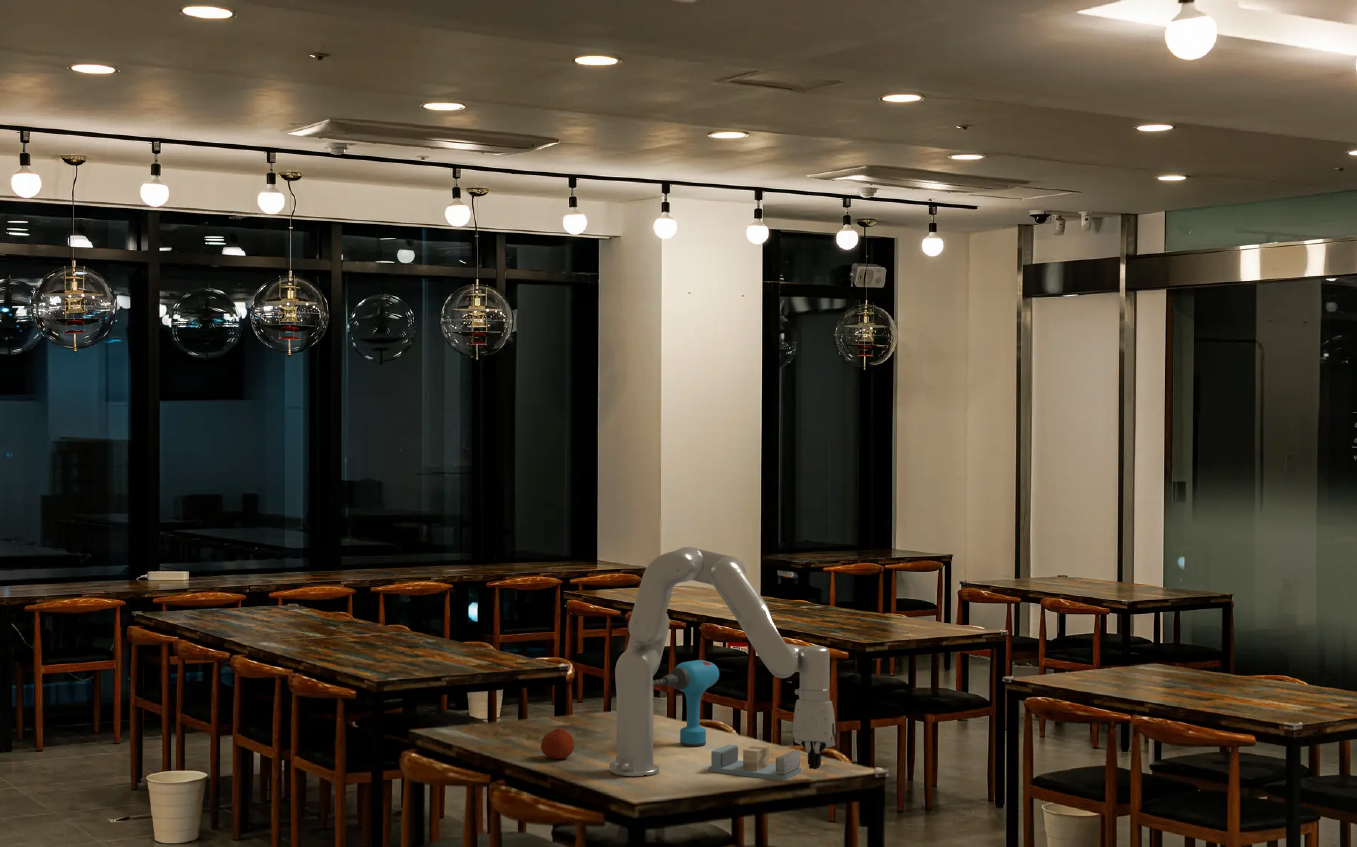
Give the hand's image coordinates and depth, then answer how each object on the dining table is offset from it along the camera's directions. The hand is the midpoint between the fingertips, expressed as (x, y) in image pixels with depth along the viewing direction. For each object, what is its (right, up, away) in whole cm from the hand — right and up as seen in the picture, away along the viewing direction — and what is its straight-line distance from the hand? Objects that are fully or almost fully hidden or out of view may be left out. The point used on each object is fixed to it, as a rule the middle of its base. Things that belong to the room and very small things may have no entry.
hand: (814, 767), depth 401 cm
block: (-14, -2, +7) cm, 16 cm away
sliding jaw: (-6, -1, +3) cm, 7 cm away
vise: (-15, -3, +8) cm, 17 cm away
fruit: (-67, -3, +23) cm, 71 cm away
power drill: (-33, -3, +39) cm, 51 cm away
